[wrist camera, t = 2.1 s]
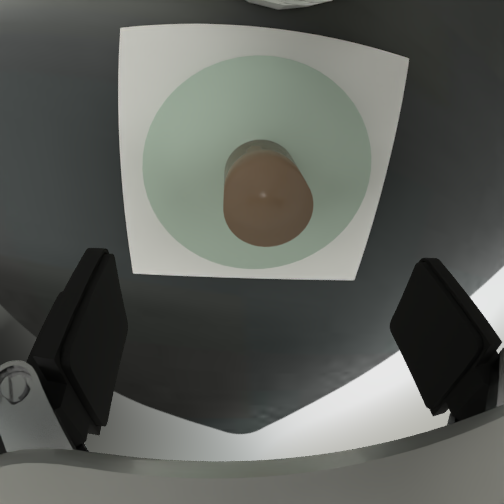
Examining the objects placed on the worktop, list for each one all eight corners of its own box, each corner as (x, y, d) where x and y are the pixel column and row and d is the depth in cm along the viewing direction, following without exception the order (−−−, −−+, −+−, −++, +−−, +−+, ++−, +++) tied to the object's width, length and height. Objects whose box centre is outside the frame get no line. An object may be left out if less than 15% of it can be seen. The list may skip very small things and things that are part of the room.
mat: (404, 58, 14) (409, 58, 14) (352, 275, 22) (354, 280, 22) (123, 28, 12) (120, 28, 12) (134, 268, 21) (133, 273, 20)
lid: (381, 76, 14) (432, 88, 10) (340, 262, 21) (364, 315, 17) (147, 53, 13) (114, 53, 9) (153, 256, 20) (136, 312, 16)
